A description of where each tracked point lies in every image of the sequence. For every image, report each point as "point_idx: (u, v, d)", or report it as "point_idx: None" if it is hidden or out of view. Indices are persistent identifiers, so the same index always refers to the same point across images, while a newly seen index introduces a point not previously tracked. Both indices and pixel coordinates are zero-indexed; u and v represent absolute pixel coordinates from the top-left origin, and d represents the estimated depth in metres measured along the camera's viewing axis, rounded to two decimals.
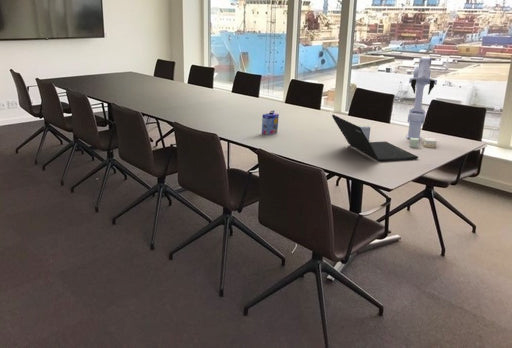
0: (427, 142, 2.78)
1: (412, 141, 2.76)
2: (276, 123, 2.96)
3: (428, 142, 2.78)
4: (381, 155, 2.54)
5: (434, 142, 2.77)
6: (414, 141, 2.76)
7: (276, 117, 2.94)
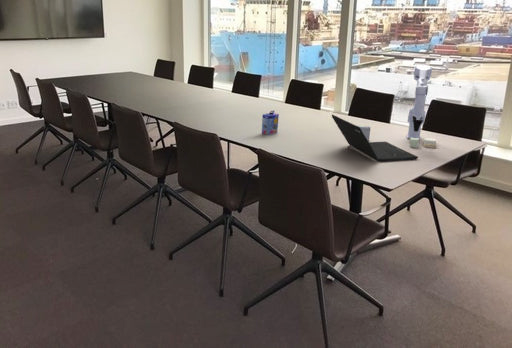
0: (426, 142, 2.78)
1: (412, 141, 2.76)
2: (276, 123, 2.96)
3: (427, 142, 2.78)
4: (381, 155, 2.54)
5: (433, 142, 2.77)
6: (414, 141, 2.76)
7: (276, 117, 2.94)
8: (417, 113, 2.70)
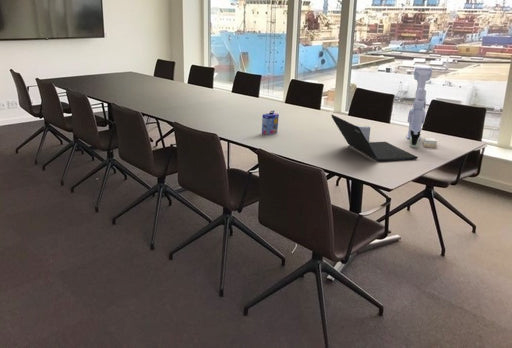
0: (427, 142, 2.77)
1: None
2: (276, 123, 2.96)
3: (428, 142, 2.77)
4: (380, 155, 2.54)
5: (434, 142, 2.77)
6: None
7: (276, 117, 2.94)
8: (415, 127, 2.73)
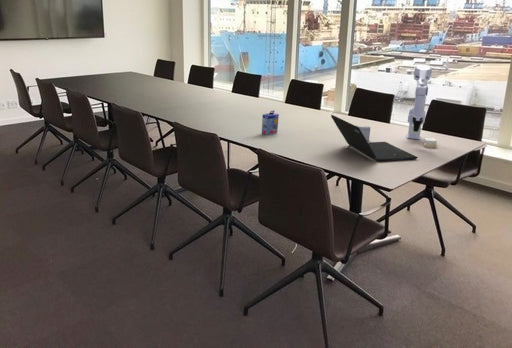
0: (427, 142, 2.78)
1: None
2: (276, 123, 2.96)
3: (428, 142, 2.78)
4: (380, 155, 2.54)
5: (434, 142, 2.77)
6: None
7: (276, 117, 2.94)
8: (417, 114, 2.70)
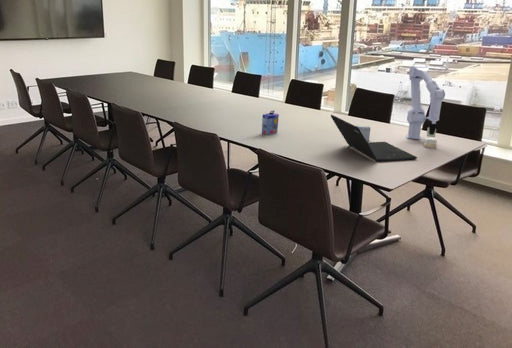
0: (427, 142, 2.78)
1: None
2: (276, 123, 2.96)
3: (428, 142, 2.78)
4: (379, 155, 2.54)
5: (434, 142, 2.77)
6: None
7: (276, 117, 2.94)
8: (433, 117, 2.73)
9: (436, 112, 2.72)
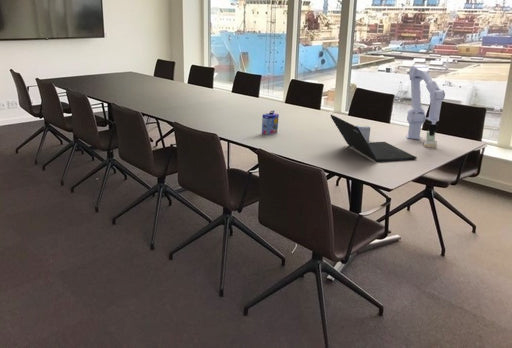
0: (427, 142, 2.78)
1: None
2: (276, 123, 2.96)
3: (428, 142, 2.78)
4: (379, 155, 2.54)
5: (434, 142, 2.77)
6: None
7: (276, 117, 2.94)
8: (433, 117, 2.73)
9: (436, 113, 2.72)
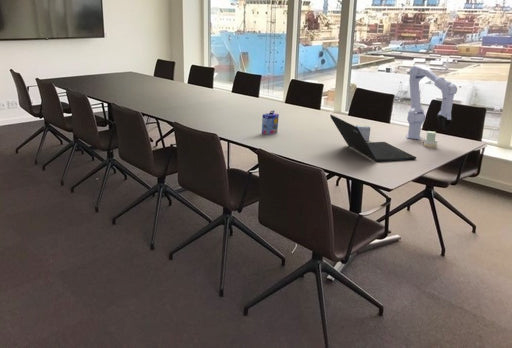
0: (428, 142, 2.77)
1: (429, 134, 2.77)
2: (276, 123, 2.96)
3: (429, 142, 2.77)
4: (379, 155, 2.54)
5: (435, 142, 2.77)
6: (431, 134, 2.76)
7: (276, 117, 2.94)
8: (446, 112, 2.71)
9: (449, 107, 2.70)
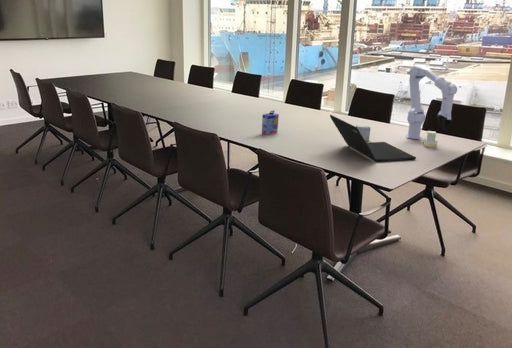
0: (428, 142, 2.78)
1: (429, 134, 2.77)
2: (276, 123, 2.96)
3: (429, 142, 2.78)
4: (378, 155, 2.54)
5: (435, 142, 2.77)
6: (432, 134, 2.77)
7: (276, 117, 2.94)
8: (446, 112, 2.71)
9: (449, 107, 2.70)
